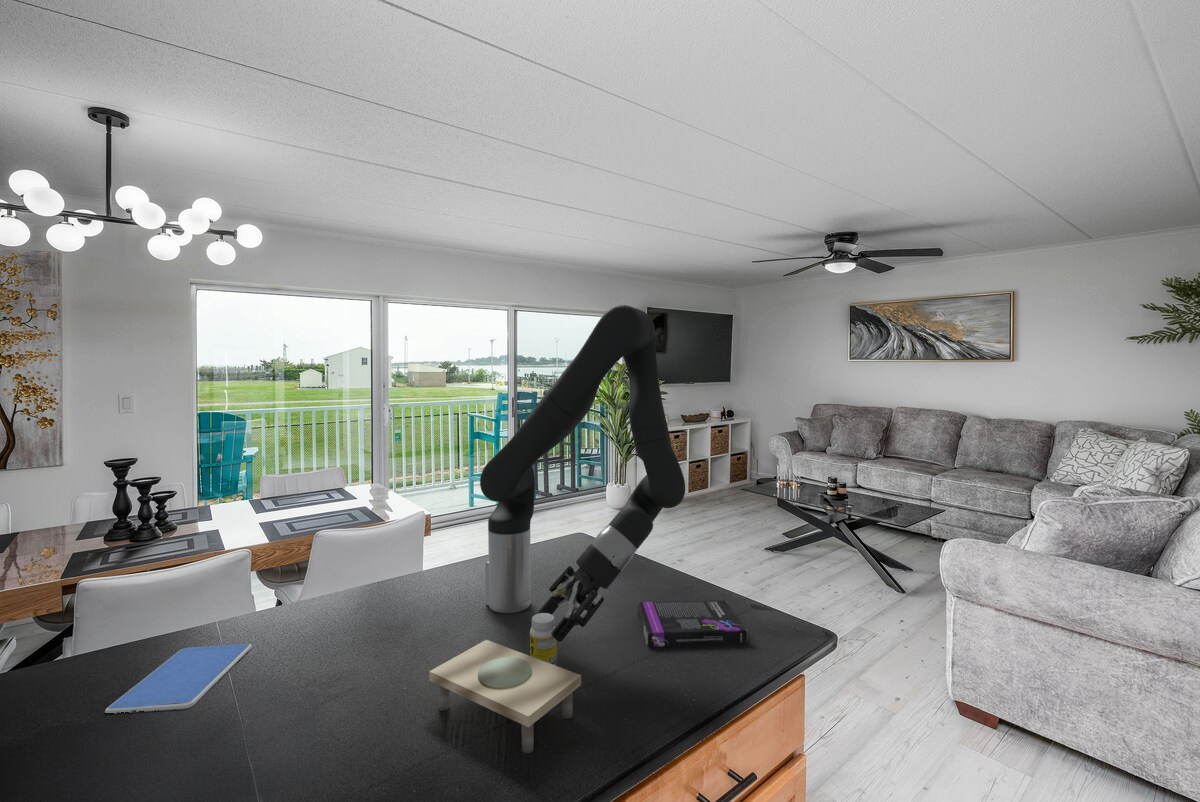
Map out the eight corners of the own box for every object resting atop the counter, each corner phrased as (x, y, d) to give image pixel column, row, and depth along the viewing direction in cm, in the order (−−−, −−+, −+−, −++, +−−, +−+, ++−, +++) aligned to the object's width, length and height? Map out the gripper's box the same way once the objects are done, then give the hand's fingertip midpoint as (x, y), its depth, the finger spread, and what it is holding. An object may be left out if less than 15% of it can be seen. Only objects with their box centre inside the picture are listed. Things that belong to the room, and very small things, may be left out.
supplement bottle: (530, 657, 100) (530, 612, 99) (556, 656, 100) (556, 611, 100) (529, 671, 95) (529, 624, 95) (556, 670, 95) (556, 623, 95)
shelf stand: (429, 709, 84) (429, 668, 84) (486, 673, 94) (486, 637, 94) (528, 760, 73) (528, 713, 73) (581, 713, 83) (581, 672, 83)
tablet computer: (190, 711, 85) (190, 703, 85) (101, 718, 83) (100, 709, 83) (254, 649, 104) (254, 642, 104) (182, 653, 102) (181, 646, 102)
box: (647, 651, 104) (748, 646, 105) (646, 633, 103) (748, 628, 105) (637, 617, 118) (727, 613, 119) (637, 601, 117) (727, 597, 119)
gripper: (580, 533, 107) (523, 600, 103) (609, 555, 94) (544, 633, 90) (605, 556, 109) (550, 623, 105) (636, 581, 96) (575, 658, 92)
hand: (547, 627), depth 98 cm, fingers open, 8 cm apart
